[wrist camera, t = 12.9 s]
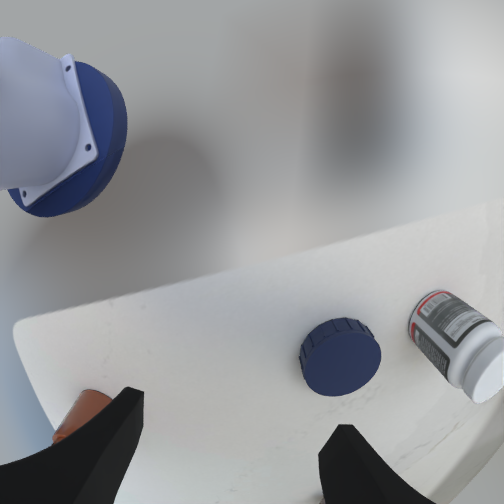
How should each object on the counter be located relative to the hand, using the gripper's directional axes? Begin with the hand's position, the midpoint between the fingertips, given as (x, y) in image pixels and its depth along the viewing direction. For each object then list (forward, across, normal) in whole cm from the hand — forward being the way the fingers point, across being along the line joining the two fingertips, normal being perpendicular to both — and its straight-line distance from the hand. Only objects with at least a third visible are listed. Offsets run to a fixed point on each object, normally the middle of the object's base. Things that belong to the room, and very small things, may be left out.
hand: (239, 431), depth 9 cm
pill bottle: (+10, -14, -2) cm, 17 cm away
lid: (+8, -7, +1) cm, 10 cm away
